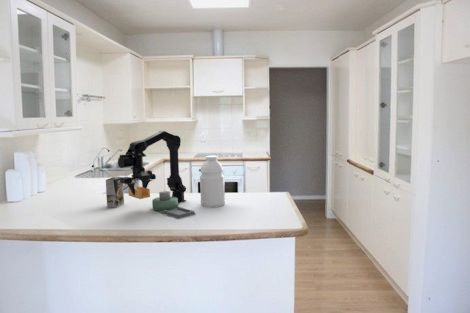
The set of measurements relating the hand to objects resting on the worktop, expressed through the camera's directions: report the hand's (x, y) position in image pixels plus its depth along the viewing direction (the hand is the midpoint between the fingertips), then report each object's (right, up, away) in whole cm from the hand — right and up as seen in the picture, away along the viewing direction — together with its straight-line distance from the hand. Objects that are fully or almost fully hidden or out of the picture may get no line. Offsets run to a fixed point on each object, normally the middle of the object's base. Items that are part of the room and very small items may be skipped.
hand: (139, 194), depth 209 cm
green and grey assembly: (+18, -9, +1) cm, 20 cm away
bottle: (+39, -7, +13) cm, 42 cm away
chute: (0, -1, 0) cm, 1 cm away
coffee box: (-17, -8, +15) cm, 24 cm away
